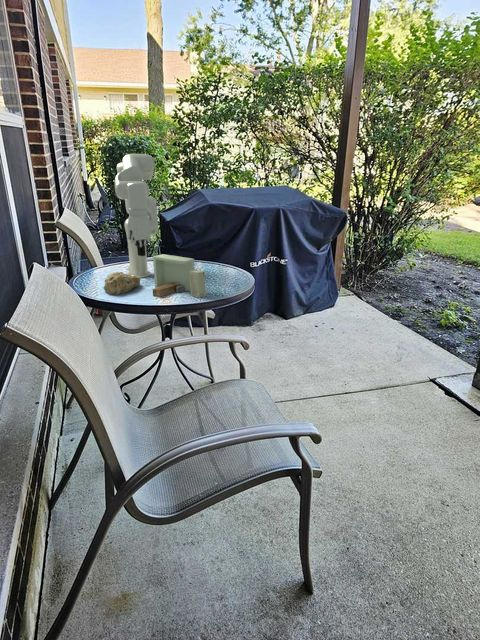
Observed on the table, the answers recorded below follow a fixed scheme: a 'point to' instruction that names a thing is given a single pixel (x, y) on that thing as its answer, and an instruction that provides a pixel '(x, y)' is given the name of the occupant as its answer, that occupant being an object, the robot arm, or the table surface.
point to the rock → (120, 283)
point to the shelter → (173, 271)
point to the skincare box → (197, 283)
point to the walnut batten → (165, 289)
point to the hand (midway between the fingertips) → (141, 255)
